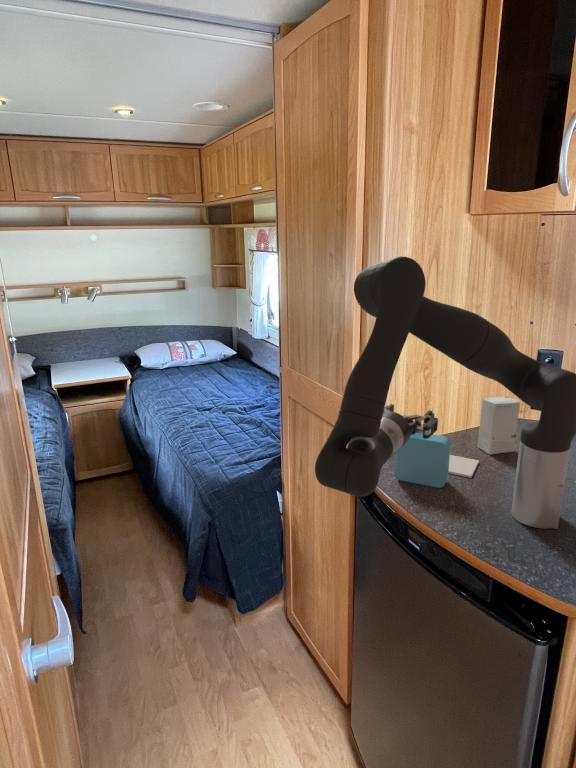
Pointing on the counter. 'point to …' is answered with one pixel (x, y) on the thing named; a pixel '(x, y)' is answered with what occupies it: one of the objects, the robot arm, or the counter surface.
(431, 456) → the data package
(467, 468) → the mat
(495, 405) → the skincare box
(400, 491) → the counter surface
